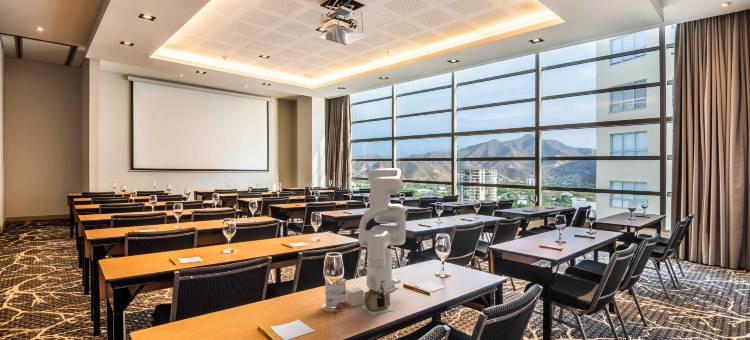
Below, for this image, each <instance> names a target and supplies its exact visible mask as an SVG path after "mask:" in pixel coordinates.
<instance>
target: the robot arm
mask: <svg viewBox="0 0 750 340" xmlns="http://www.w3.org/2000/svg"><path fill="white" fill-rule="evenodd" d="M403 177H404V176H403V172H402V170H401V169H400V168H396V167H395V168H394V167H392V168H390V167H389V168H388V167H387V168H385V167H384V168H383V167H382V168H379V167H378V168H373V169H370V170H369V171H368V172H367V180H368V183H369V187H370V196H369V208H368V210H366V212H365V213H364V214H363V216H362V217H361V219H360V221H359V226H358V243H359V245H360V246H361V247H363V248H367V267H366V287H367V288H368V289H369V290H368V291H375V292H377V293H378V298H377V303H378V308H380V307H384V306H385V295H386V293H387V291H388V292H390V293H392V292H394V291H395V290H396V286H395V285H397V284H401V279H396V278H393V277H392V276H393V275H392V274H393V273H392V272H393V271H392V269H393V263H392V259H393V257H392V252H391V250H390V248H388V247H389V246H401V245H405V242H406V236H407V235H406V234H407V233H406V232H407V230H406V228H407V227H406V223H407V222H406V210H405V207H404V205H402V203H401V204H400V203H391V195H400V193H401V191H402V187H403V179H404V178H403ZM372 219H373V220H374V221H375V223H379V224H384V225H374V226H373V227H371V228H370V229H366V227H367V224H368V223H369V221H371V220H372ZM385 224H395V225H385ZM380 289H382V290H380ZM380 292H382V293H381V294H380Z"/></svg>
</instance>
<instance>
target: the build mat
mask: <svg viewBox="0 0 750 340" xmlns="http://www.w3.org/2000/svg"><path fill="white" fill-rule="evenodd" d="M361 308H362V309H363V311H366V312H367V313H369V314H370V315H372V316H375V315H379V314H383V313H388V312H393V311H394V308H391V306H388V307H384V308H380V309H376V310H370V309H369V308H367V307H365V305H364V306H363V305H362V306H361Z"/></svg>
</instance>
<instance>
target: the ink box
mask: <svg viewBox="0 0 750 340" xmlns="http://www.w3.org/2000/svg"><path fill="white" fill-rule="evenodd" d="M341 279H342V280H341V281H339V282H338V283H337V284H336V285H332V284H330V282H329V281H327V279H326V280H325V282H324V283H325V285H324V286H325V287H324V288H325V309H326V308H328V309H332V308H331V307H336V308H335V309H346V307H347V303H346V289H347V288H346V284H347V283H346V278H341ZM328 282H329V283H328Z"/></svg>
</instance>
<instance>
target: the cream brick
mask: <svg viewBox="0 0 750 340" xmlns="http://www.w3.org/2000/svg"><path fill="white" fill-rule="evenodd" d="M346 304H348V305H349V306H350V307H353V306H359V305H365V294H364V290H363V289H362V288H361V287H358V286H356V287H350V288H346Z"/></svg>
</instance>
